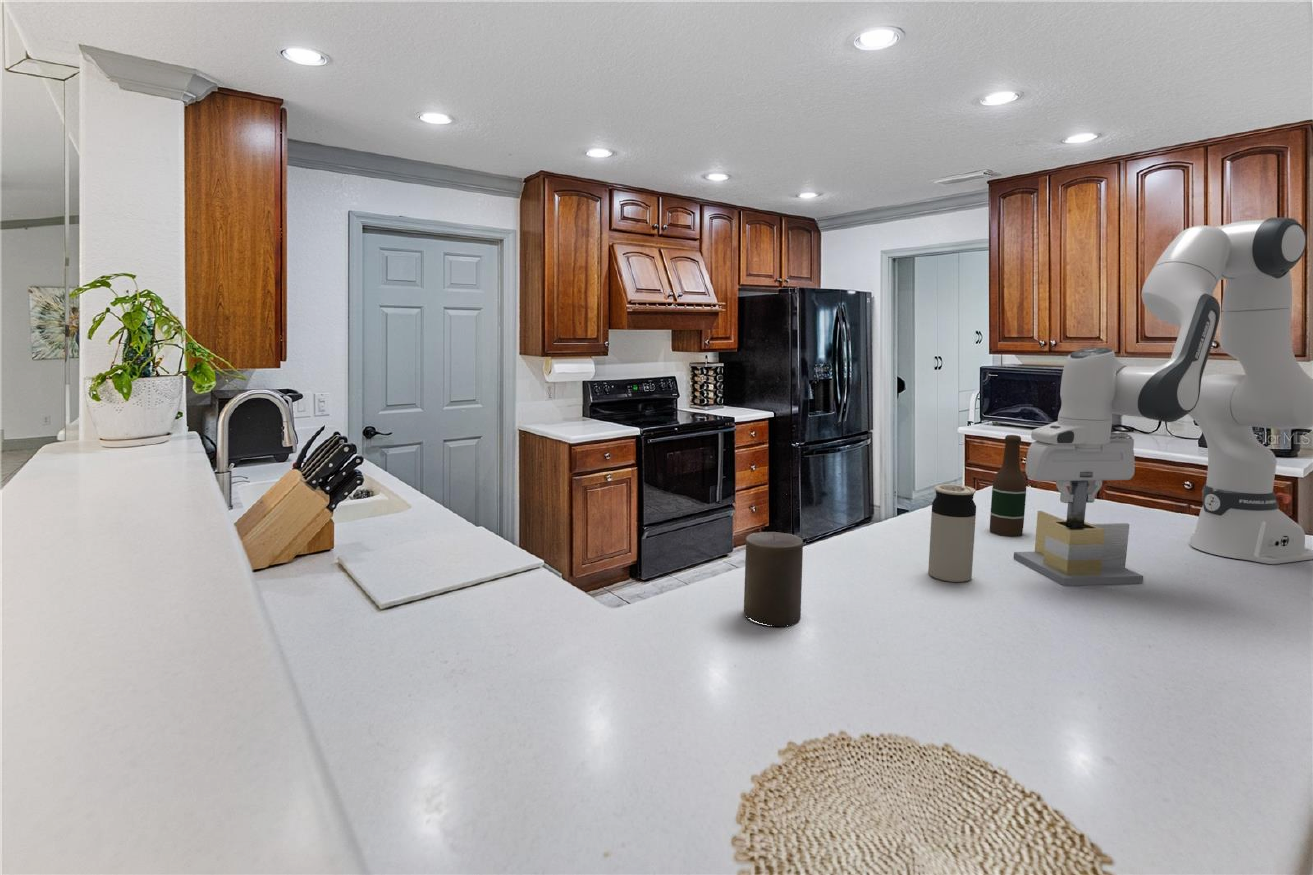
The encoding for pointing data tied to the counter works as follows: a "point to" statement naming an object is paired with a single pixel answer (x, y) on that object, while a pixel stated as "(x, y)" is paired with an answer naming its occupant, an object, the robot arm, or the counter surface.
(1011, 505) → the beer bottle
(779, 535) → the pillar candle
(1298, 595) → the counter surface
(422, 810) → the counter surface
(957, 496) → the travel mug
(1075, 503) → the hinge pin
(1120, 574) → the mounting board
